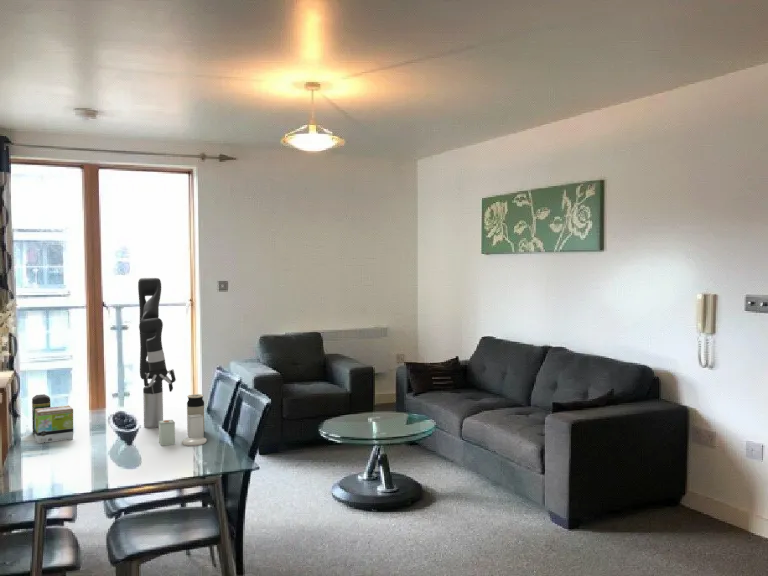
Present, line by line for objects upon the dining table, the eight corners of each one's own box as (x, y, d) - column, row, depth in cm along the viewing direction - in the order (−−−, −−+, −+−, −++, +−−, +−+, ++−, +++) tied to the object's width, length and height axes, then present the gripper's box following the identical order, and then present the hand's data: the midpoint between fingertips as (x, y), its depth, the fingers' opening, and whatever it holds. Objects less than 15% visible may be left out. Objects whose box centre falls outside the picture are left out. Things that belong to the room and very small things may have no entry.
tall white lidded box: (187, 436, 310) (187, 415, 310) (200, 434, 313) (200, 413, 313) (190, 439, 305) (190, 417, 304) (203, 437, 308) (203, 416, 307)
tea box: (38, 444, 298) (37, 412, 297) (34, 439, 306) (33, 408, 305) (74, 439, 307) (73, 407, 306) (69, 435, 315) (69, 404, 314)
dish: (179, 441, 300) (179, 439, 300) (203, 438, 306) (203, 435, 306) (184, 447, 291) (184, 444, 291) (209, 443, 296) (208, 441, 296)
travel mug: (194, 435, 312) (193, 397, 311) (184, 432, 316) (183, 395, 316) (208, 431, 318) (207, 395, 317) (197, 429, 323) (197, 393, 322)
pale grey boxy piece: (159, 442, 299) (158, 420, 298) (172, 441, 301) (172, 418, 301) (161, 445, 293) (160, 422, 293) (175, 444, 296) (174, 421, 296)
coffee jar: (52, 433, 317) (51, 395, 316) (33, 436, 313) (32, 397, 312) (49, 429, 325) (49, 392, 324) (31, 432, 321) (31, 394, 320)
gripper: (173, 356, 317) (178, 388, 319) (143, 360, 315) (148, 392, 317) (170, 359, 309) (175, 392, 311) (139, 363, 308) (144, 396, 310)
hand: (161, 392), depth 314 cm, fingers open, 8 cm apart
